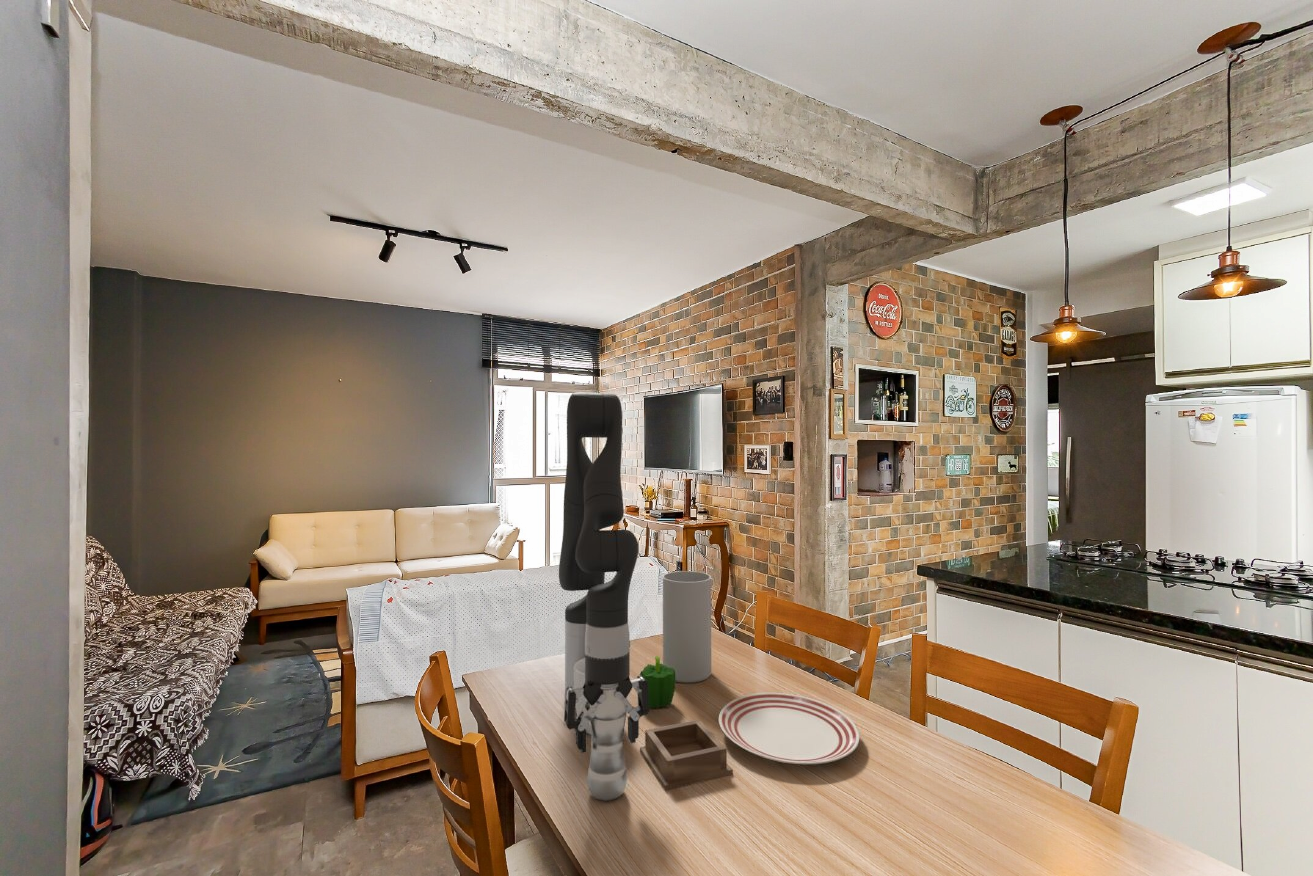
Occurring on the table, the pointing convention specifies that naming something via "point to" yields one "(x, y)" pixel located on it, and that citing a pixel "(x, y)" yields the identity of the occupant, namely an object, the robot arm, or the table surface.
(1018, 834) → the table surface
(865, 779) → the table surface
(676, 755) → the bottle stand
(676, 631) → the cylinder vase
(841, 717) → the dinner plate
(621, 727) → the plastic bottle
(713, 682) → the table surface
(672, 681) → the bell pepper
